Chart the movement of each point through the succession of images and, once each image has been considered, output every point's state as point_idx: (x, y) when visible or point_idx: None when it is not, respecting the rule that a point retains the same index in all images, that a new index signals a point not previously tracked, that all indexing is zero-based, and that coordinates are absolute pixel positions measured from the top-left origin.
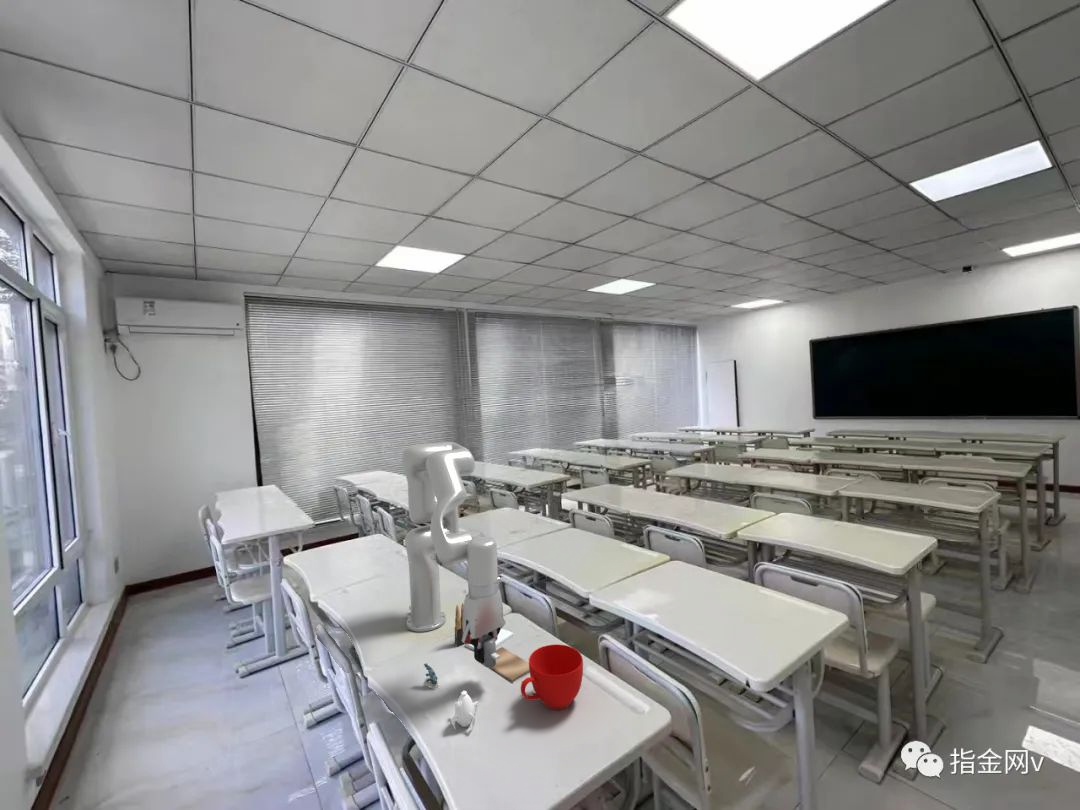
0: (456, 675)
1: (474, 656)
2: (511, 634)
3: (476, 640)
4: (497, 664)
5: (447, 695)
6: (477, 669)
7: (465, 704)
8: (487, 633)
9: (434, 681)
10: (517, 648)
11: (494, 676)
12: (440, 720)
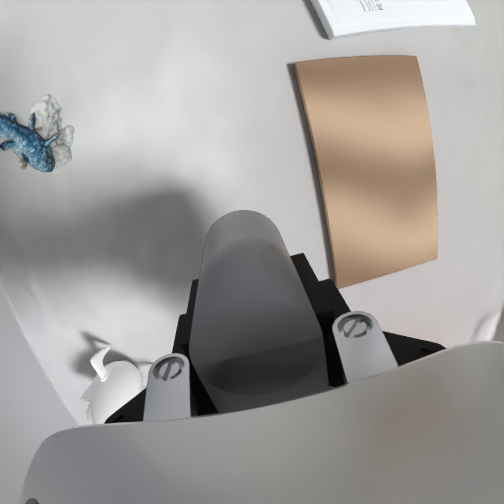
0: (152, 113)
1: (180, 320)
2: (469, 24)
3: (193, 391)
4: (345, 158)
5: (89, 227)
6: (255, 119)
7: None
8: (338, 352)
9: (41, 169)
10: (455, 100)
11: (299, 212)
12: (65, 324)
